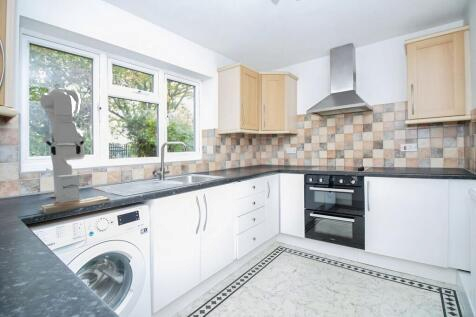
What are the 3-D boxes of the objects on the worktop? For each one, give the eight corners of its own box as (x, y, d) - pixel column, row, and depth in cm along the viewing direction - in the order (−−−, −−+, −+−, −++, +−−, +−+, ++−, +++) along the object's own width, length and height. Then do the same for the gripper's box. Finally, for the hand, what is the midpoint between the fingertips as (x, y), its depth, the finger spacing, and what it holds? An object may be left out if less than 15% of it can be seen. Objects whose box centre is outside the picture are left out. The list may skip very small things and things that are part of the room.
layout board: (41, 209, 109) (40, 203, 109) (101, 199, 129) (101, 194, 128) (46, 213, 102) (46, 206, 102) (109, 202, 121) (109, 196, 121)
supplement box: (62, 203, 107) (60, 176, 107) (55, 202, 112) (54, 175, 111) (80, 200, 113) (78, 174, 113) (73, 198, 118) (72, 174, 117)
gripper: (82, 121, 123) (84, 153, 124) (40, 119, 110) (42, 155, 111) (87, 120, 118) (88, 154, 119) (43, 117, 105) (45, 155, 106)
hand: (66, 154), depth 115 cm, fingers open, 9 cm apart
